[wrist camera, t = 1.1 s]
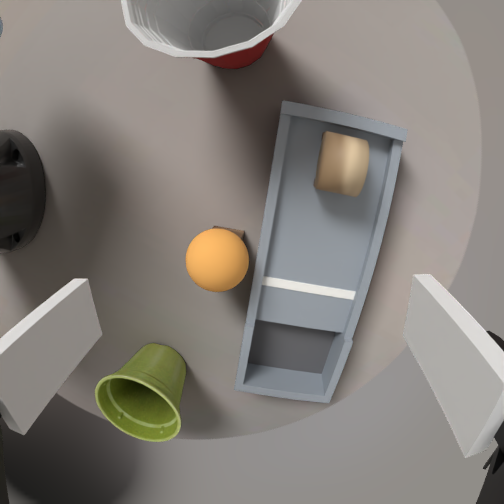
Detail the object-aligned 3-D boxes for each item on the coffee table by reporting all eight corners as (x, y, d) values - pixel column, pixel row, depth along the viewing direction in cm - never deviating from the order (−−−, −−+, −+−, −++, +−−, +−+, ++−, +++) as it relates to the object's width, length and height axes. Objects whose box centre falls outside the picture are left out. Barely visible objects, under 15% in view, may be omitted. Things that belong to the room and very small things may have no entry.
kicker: (313, 185, 25) (319, 192, 21) (322, 132, 24) (330, 129, 20) (348, 192, 25) (361, 201, 21) (358, 140, 24) (373, 139, 20)
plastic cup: (321, 34, 23) (343, -30, 12) (243, 117, 26) (216, 95, 15) (230, -24, 22) (203, -96, 10) (156, 54, 25) (89, 12, 14)
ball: (192, 271, 29) (175, 295, 24) (198, 217, 27) (180, 232, 22) (247, 281, 29) (240, 308, 24) (255, 227, 27) (250, 244, 22)
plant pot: (113, 352, 36) (80, 396, 28) (157, 314, 33) (124, 361, 25) (166, 401, 38) (145, 449, 29) (216, 371, 35) (200, 425, 27)
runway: (238, 366, 34) (233, 390, 31) (282, 107, 26) (282, 100, 22) (325, 379, 34) (329, 403, 30) (391, 131, 25) (407, 129, 22)
